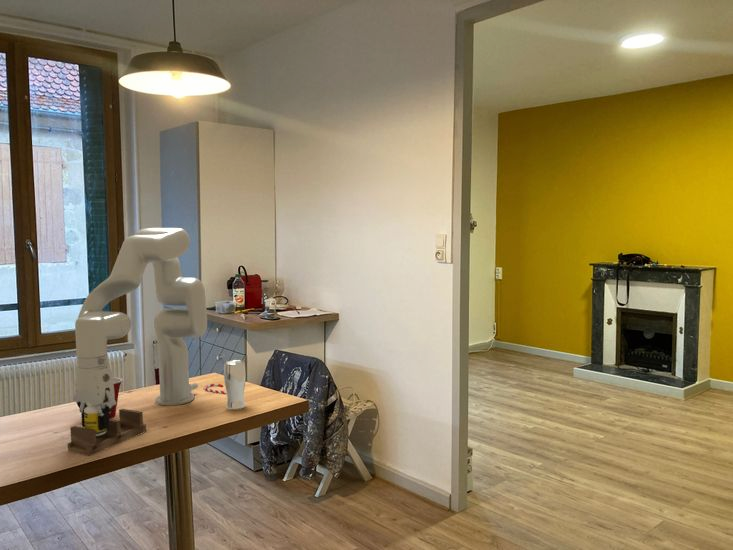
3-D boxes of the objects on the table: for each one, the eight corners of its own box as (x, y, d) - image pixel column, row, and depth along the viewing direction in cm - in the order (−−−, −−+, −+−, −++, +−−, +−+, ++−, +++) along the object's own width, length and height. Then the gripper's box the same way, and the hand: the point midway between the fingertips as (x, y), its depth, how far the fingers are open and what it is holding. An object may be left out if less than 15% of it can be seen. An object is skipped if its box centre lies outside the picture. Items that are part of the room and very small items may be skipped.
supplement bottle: (80, 435, 160) (78, 400, 159) (96, 429, 165) (94, 394, 165) (95, 438, 158) (93, 402, 158) (111, 431, 163) (109, 396, 163)
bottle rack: (126, 427, 177) (125, 407, 176) (146, 431, 173) (145, 410, 173) (67, 451, 158) (66, 428, 158) (89, 456, 155) (87, 433, 155)
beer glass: (239, 411, 191) (238, 365, 190) (220, 409, 193) (219, 364, 192) (250, 405, 197) (249, 360, 196) (232, 403, 200) (230, 359, 198)
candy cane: (222, 394, 208) (198, 386, 218) (222, 397, 208) (198, 390, 218) (240, 389, 213) (216, 382, 223) (240, 393, 213) (216, 385, 223)
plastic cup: (131, 412, 191) (129, 375, 190) (111, 423, 181) (109, 384, 180) (100, 410, 193) (99, 374, 192) (79, 421, 183) (77, 383, 182)
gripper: (126, 361, 160) (129, 427, 162) (81, 356, 167) (85, 419, 169) (104, 368, 153) (107, 436, 155) (58, 362, 160) (61, 427, 162)
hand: (95, 426), depth 162 cm, fingers closed on supplement bottle, 5 cm apart
